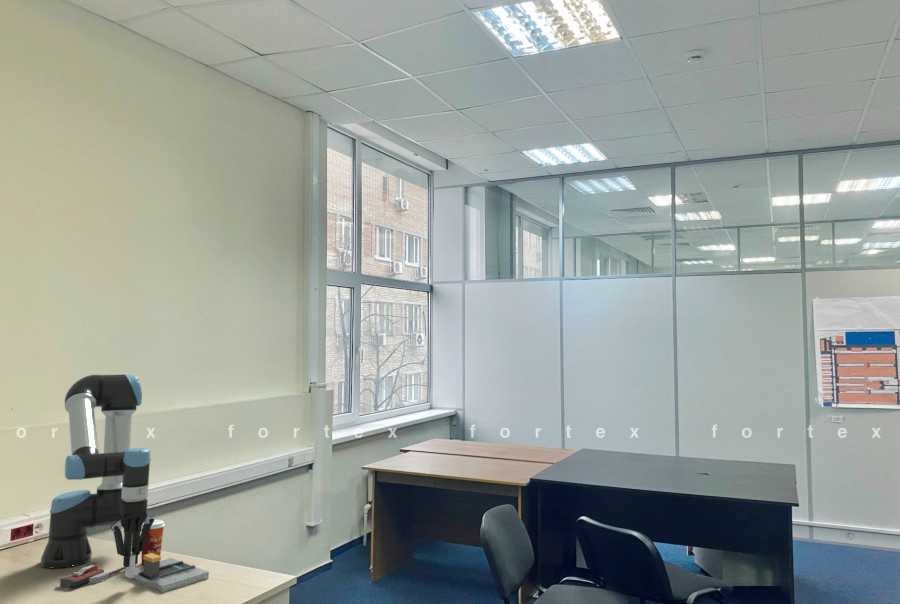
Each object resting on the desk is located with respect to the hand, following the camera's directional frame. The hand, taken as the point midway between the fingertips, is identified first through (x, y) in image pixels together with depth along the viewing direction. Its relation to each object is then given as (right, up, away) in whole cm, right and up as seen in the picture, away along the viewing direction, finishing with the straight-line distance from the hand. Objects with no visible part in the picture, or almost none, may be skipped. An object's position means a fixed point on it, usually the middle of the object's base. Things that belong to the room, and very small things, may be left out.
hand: (129, 576), depth 193 cm
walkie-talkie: (-16, -5, +7) cm, 18 cm away
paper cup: (-5, -6, +23) cm, 24 cm away
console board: (+7, -5, +10) cm, 13 cm away
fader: (+4, -2, +6) cm, 7 cm away
